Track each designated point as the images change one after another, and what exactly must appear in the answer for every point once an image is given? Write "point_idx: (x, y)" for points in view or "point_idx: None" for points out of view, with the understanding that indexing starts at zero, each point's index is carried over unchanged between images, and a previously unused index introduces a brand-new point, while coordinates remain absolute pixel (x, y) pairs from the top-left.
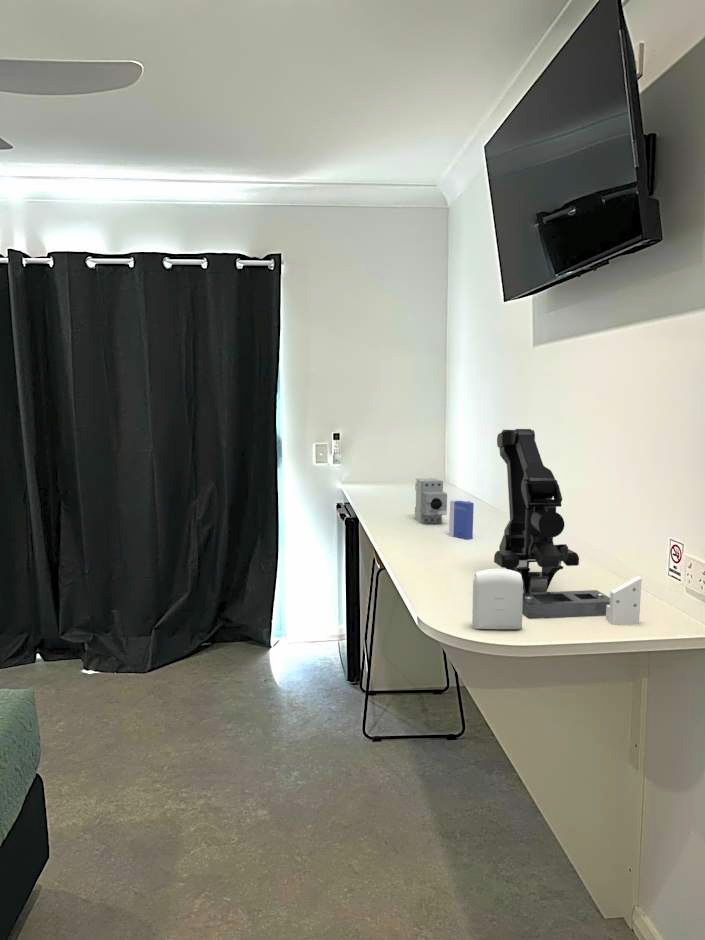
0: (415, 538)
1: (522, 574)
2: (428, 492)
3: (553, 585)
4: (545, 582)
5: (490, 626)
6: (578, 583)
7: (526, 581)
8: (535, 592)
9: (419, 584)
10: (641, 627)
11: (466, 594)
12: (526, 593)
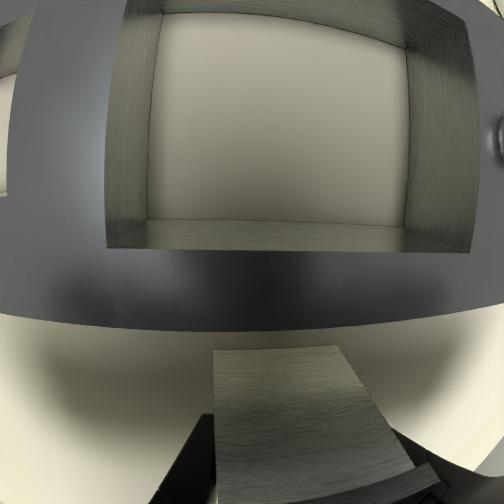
0: None
1: (486, 478)
2: None
3: (103, 497)
4: (240, 474)
5: None
6: (24, 475)
7: (414, 459)
8: (398, 320)
9: (479, 454)
10: None
11: (473, 414)
12: (472, 291)
